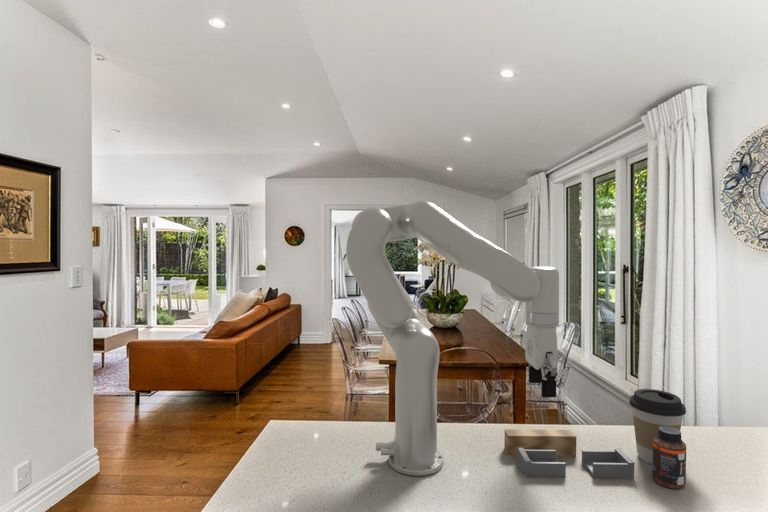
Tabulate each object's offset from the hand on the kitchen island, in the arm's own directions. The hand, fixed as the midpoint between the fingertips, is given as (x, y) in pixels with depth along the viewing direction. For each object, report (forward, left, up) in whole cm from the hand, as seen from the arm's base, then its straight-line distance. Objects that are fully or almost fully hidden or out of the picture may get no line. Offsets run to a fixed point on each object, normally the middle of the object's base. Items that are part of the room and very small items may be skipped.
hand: (541, 389), depth 106 cm
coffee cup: (+26, -3, -16) cm, 30 cm away
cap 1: (-3, -8, -15) cm, 17 cm away
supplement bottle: (+23, -13, -16) cm, 30 cm away
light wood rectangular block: (0, 0, -16) cm, 16 cm away
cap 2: (+12, -8, -15) cm, 21 cm away
